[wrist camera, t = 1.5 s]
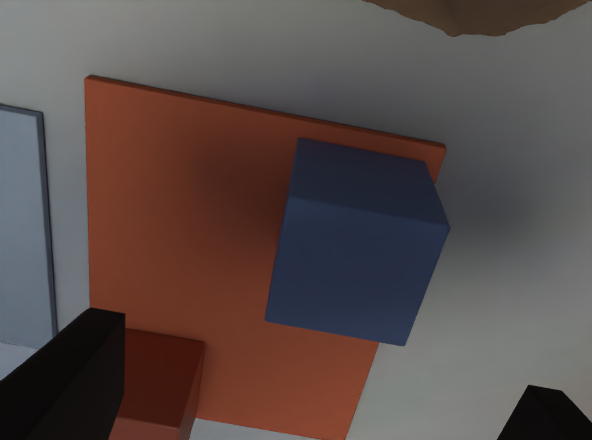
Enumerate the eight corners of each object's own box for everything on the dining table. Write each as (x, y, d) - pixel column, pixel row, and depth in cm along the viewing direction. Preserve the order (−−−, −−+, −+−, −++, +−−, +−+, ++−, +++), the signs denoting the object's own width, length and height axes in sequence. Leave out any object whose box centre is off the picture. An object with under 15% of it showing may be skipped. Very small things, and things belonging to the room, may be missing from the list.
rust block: (197, 410, 22) (171, 500, 19) (103, 394, 22) (60, 482, 19) (205, 341, 20) (179, 428, 17) (102, 323, 20) (54, 407, 17)
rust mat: (343, 436, 23) (344, 443, 23) (95, 393, 23) (91, 400, 22) (444, 144, 16) (447, 148, 16) (88, 74, 16) (83, 78, 15)
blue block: (391, 265, 18) (405, 348, 15) (276, 244, 18) (263, 322, 14) (426, 160, 16) (452, 227, 13) (297, 135, 16) (288, 196, 12)
